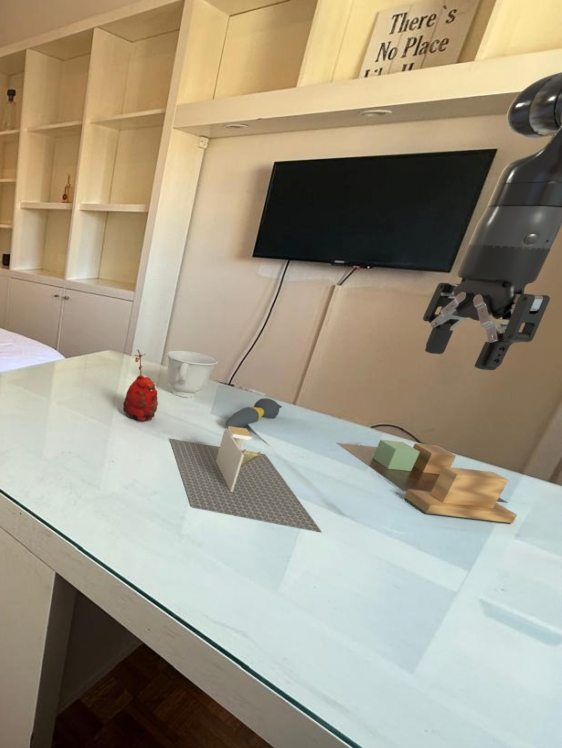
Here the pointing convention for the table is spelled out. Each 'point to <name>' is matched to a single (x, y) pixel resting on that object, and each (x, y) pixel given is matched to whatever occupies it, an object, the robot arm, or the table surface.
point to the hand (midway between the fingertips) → (457, 360)
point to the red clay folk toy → (141, 397)
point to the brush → (464, 496)
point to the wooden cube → (432, 458)
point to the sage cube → (395, 455)
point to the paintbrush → (254, 413)
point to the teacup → (188, 372)
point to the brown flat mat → (395, 471)
